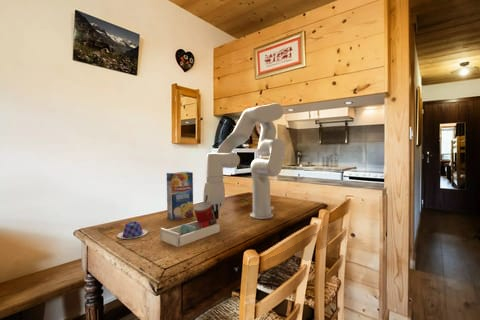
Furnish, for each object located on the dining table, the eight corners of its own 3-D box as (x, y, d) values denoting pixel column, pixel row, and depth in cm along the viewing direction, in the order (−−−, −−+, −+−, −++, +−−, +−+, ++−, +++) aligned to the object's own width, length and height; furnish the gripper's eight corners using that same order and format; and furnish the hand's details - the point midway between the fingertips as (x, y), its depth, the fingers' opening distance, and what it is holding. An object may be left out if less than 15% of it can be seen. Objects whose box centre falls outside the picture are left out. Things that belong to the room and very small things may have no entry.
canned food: (214, 231, 105) (208, 208, 102) (197, 232, 107) (190, 210, 104) (219, 221, 112) (213, 200, 109) (203, 223, 114) (196, 202, 111)
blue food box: (187, 213, 138) (187, 171, 137) (193, 216, 132) (192, 172, 131) (167, 217, 131) (166, 172, 130) (172, 220, 125) (171, 173, 124)
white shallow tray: (202, 226, 114) (202, 216, 114) (219, 231, 107) (219, 220, 106) (160, 239, 97) (160, 228, 97) (178, 247, 90) (177, 234, 90)
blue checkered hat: (147, 238, 100) (147, 225, 100) (115, 242, 96) (115, 229, 96) (147, 229, 111) (147, 218, 111) (118, 232, 107) (118, 221, 107)
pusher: (183, 233, 104) (183, 223, 104) (196, 238, 98) (196, 227, 98) (178, 235, 102) (178, 224, 102) (191, 239, 96) (191, 228, 96)
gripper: (220, 177, 120) (220, 214, 121) (197, 180, 109) (197, 220, 109) (231, 178, 115) (231, 216, 116) (208, 181, 104) (208, 224, 104)
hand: (214, 218), depth 112 cm, fingers closed
